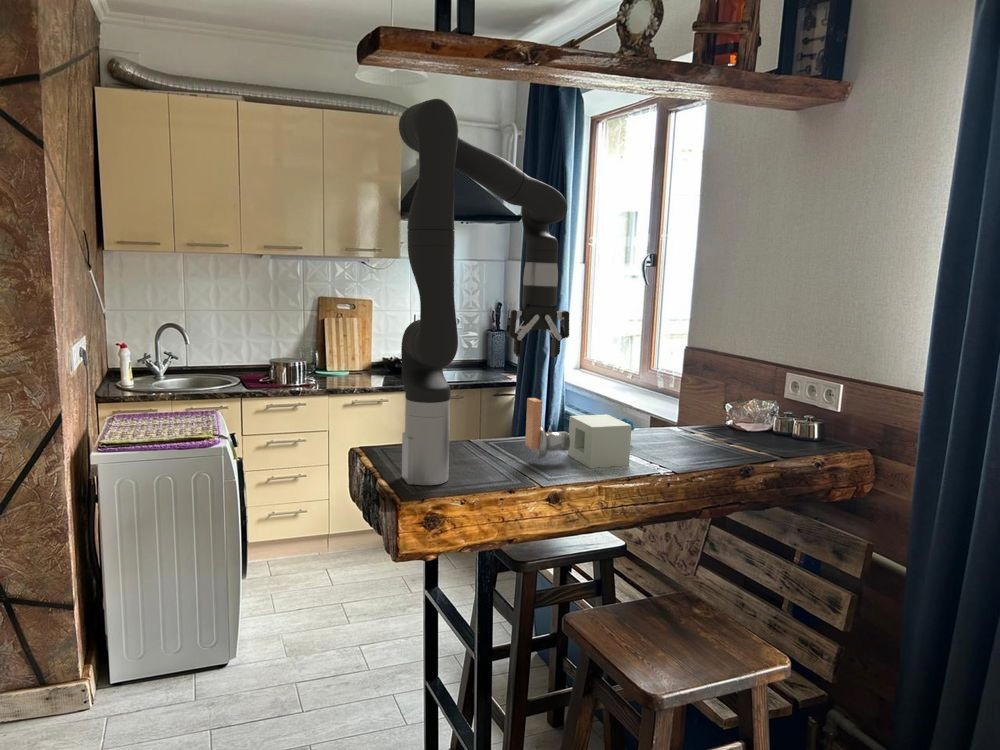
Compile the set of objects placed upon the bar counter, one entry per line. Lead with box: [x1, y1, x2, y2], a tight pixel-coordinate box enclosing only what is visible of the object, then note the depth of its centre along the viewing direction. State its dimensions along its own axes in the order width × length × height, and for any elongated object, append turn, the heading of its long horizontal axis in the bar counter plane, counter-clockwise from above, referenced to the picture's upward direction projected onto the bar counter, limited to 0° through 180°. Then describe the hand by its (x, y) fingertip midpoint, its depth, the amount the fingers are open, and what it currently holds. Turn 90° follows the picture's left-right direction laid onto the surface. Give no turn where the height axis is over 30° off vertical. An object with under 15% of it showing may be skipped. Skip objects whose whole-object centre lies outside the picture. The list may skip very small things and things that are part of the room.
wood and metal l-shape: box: [524, 397, 570, 460], centre depth 169 cm, size 9×8×14 cm
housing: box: [567, 413, 632, 469], centre depth 174 cm, size 10×12×10 cm
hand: (536, 356), depth 165 cm, fingers open, 8 cm apart
